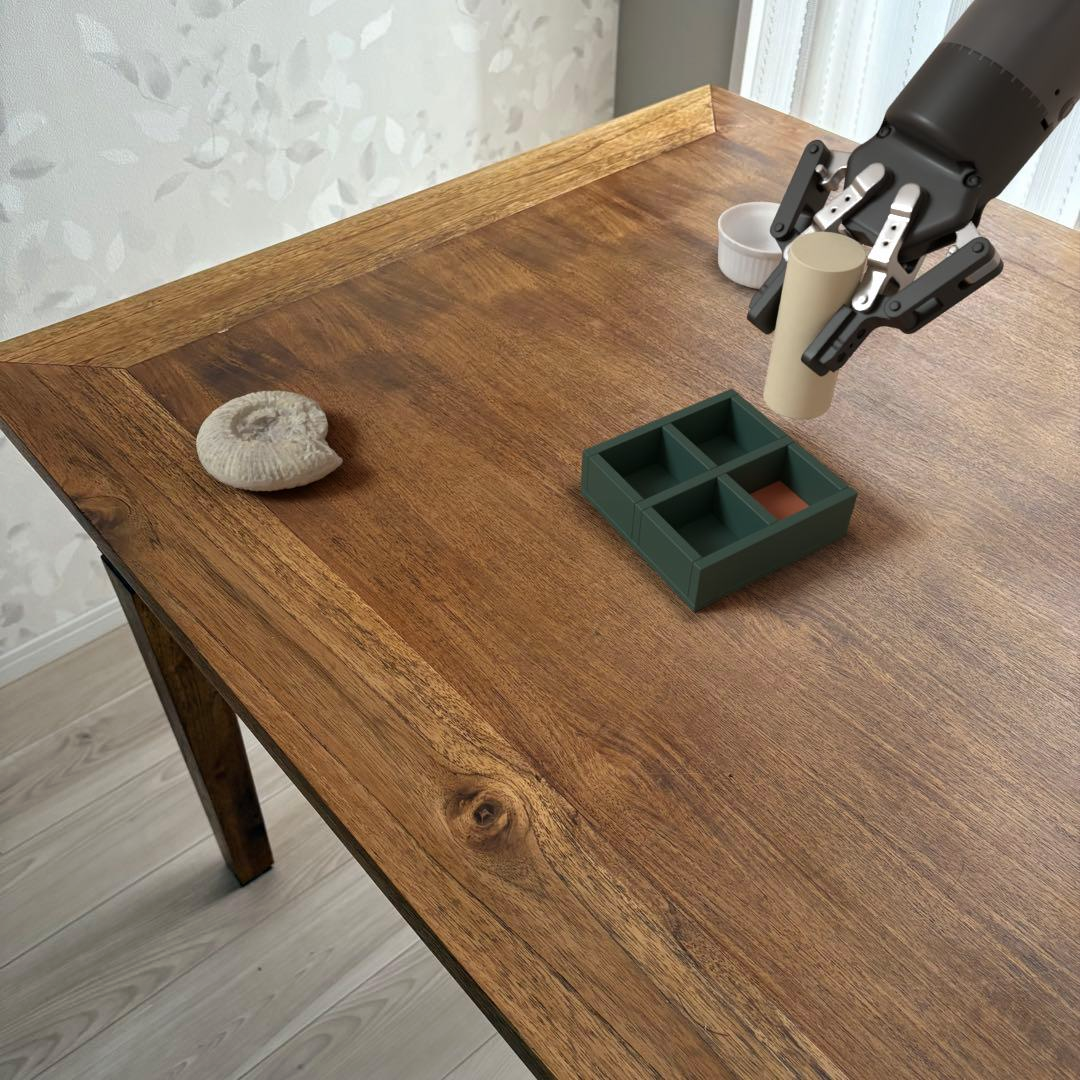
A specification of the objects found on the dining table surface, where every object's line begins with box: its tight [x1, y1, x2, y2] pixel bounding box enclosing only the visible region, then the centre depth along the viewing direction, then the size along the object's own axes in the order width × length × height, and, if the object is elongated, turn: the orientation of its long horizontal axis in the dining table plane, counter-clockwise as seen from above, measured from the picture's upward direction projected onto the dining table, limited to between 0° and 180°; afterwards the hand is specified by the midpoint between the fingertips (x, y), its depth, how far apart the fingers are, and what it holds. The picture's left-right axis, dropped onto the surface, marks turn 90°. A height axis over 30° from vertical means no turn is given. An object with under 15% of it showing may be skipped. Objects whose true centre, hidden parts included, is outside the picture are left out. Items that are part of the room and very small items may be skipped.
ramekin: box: [717, 201, 782, 290], centre depth 100 cm, size 9×9×4 cm
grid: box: [580, 388, 859, 613], centre depth 77 cm, size 13×13×4 cm
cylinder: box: [762, 232, 867, 421], centre depth 63 cm, size 4×4×10 cm
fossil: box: [195, 390, 343, 492], centre depth 82 cm, size 11×4×10 cm
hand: (784, 346), depth 62 cm, fingers closed on cylinder, 4 cm apart
